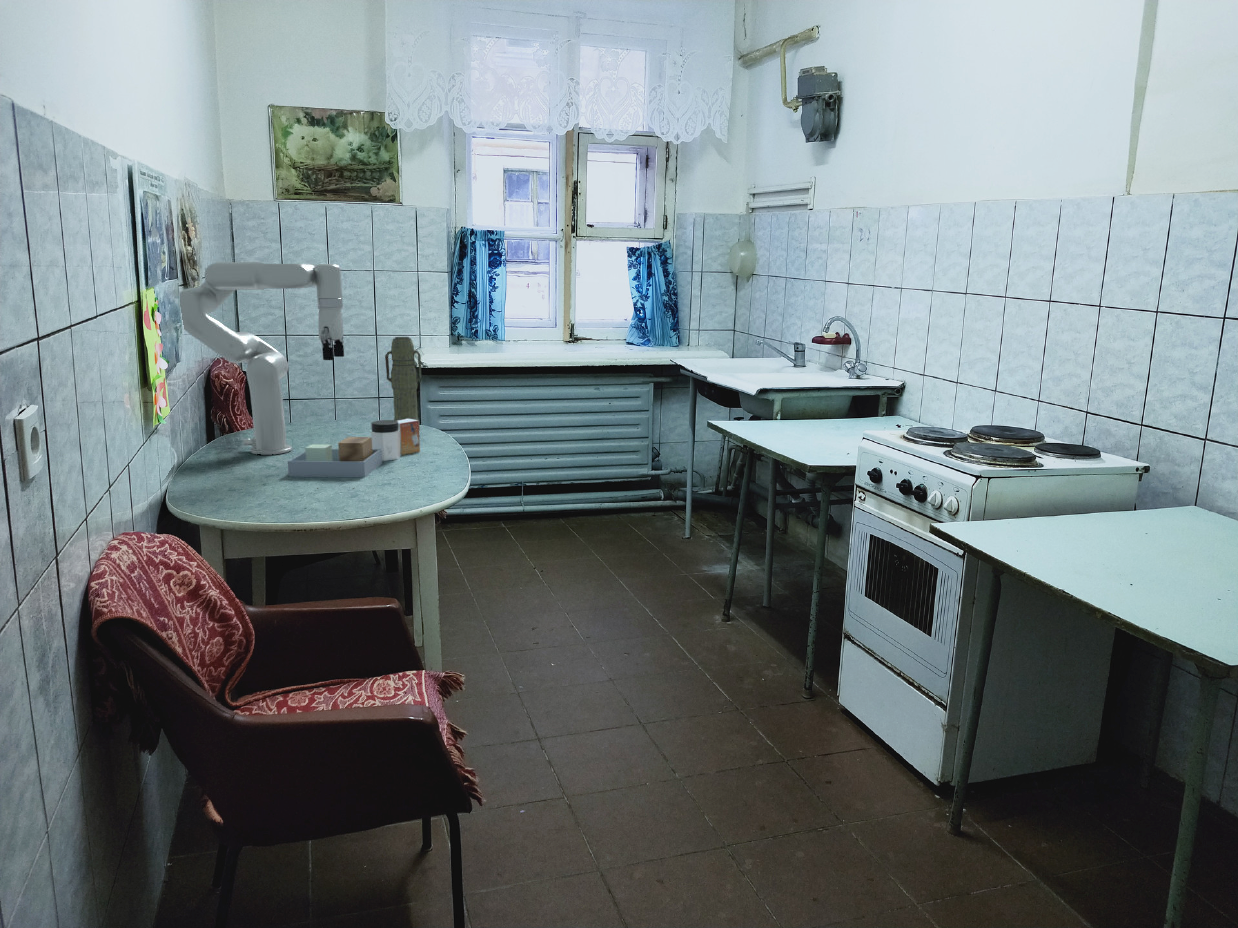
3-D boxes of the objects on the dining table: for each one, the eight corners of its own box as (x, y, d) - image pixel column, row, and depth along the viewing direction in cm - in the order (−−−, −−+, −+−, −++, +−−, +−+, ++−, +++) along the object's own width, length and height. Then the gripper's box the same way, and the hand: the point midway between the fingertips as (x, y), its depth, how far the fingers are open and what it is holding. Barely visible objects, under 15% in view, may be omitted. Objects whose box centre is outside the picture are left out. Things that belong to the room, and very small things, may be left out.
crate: (289, 478, 259) (287, 461, 258) (310, 465, 276) (309, 448, 275) (365, 479, 259) (364, 461, 258) (382, 466, 276) (381, 449, 274)
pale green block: (306, 471, 265) (305, 447, 264) (313, 467, 270) (311, 444, 269) (327, 471, 265) (325, 448, 263) (333, 467, 270) (331, 444, 268)
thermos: (388, 435, 321) (383, 336, 313) (422, 434, 325) (418, 335, 317) (390, 440, 313) (384, 338, 305) (425, 438, 316) (420, 338, 309)
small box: (401, 455, 290) (399, 423, 287) (389, 453, 293) (388, 421, 291) (420, 451, 296) (419, 420, 294) (409, 449, 299) (407, 418, 297)
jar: (377, 464, 278) (374, 425, 275) (368, 459, 285) (366, 421, 282) (405, 460, 283) (403, 422, 280) (396, 455, 289) (394, 418, 287)
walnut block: (340, 473, 263) (338, 442, 261) (350, 466, 272) (348, 436, 270) (364, 473, 263) (362, 443, 261) (373, 466, 271) (371, 437, 269)
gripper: (328, 302, 295) (331, 355, 299) (308, 305, 278) (312, 361, 282) (350, 302, 294) (354, 355, 298) (332, 305, 278) (336, 361, 281)
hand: (333, 358), depth 290 cm, fingers open, 9 cm apart
